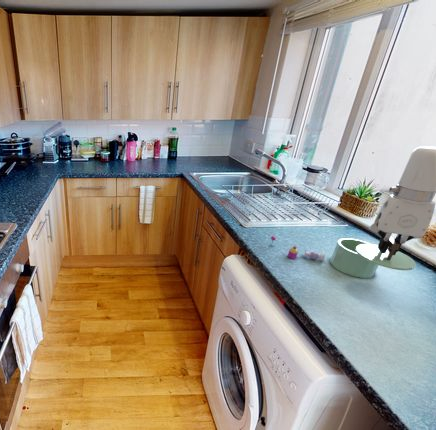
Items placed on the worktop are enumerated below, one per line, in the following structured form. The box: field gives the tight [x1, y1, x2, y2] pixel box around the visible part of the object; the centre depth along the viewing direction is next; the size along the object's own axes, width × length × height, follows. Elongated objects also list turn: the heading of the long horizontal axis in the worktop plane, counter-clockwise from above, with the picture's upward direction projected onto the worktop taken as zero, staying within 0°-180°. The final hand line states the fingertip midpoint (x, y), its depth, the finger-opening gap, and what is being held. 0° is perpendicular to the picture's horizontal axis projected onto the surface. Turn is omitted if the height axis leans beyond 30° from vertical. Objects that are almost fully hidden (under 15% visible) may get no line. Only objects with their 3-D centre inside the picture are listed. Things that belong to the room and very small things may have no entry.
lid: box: [355, 236, 417, 271], centre depth 84 cm, size 14×14×6 cm
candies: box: [270, 235, 325, 262], centre depth 109 cm, size 18×8×6 cm, turn 62°
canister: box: [329, 237, 379, 279], centre depth 102 cm, size 13×13×8 cm
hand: (386, 251), depth 85 cm, fingers closed on lid, 1 cm apart
